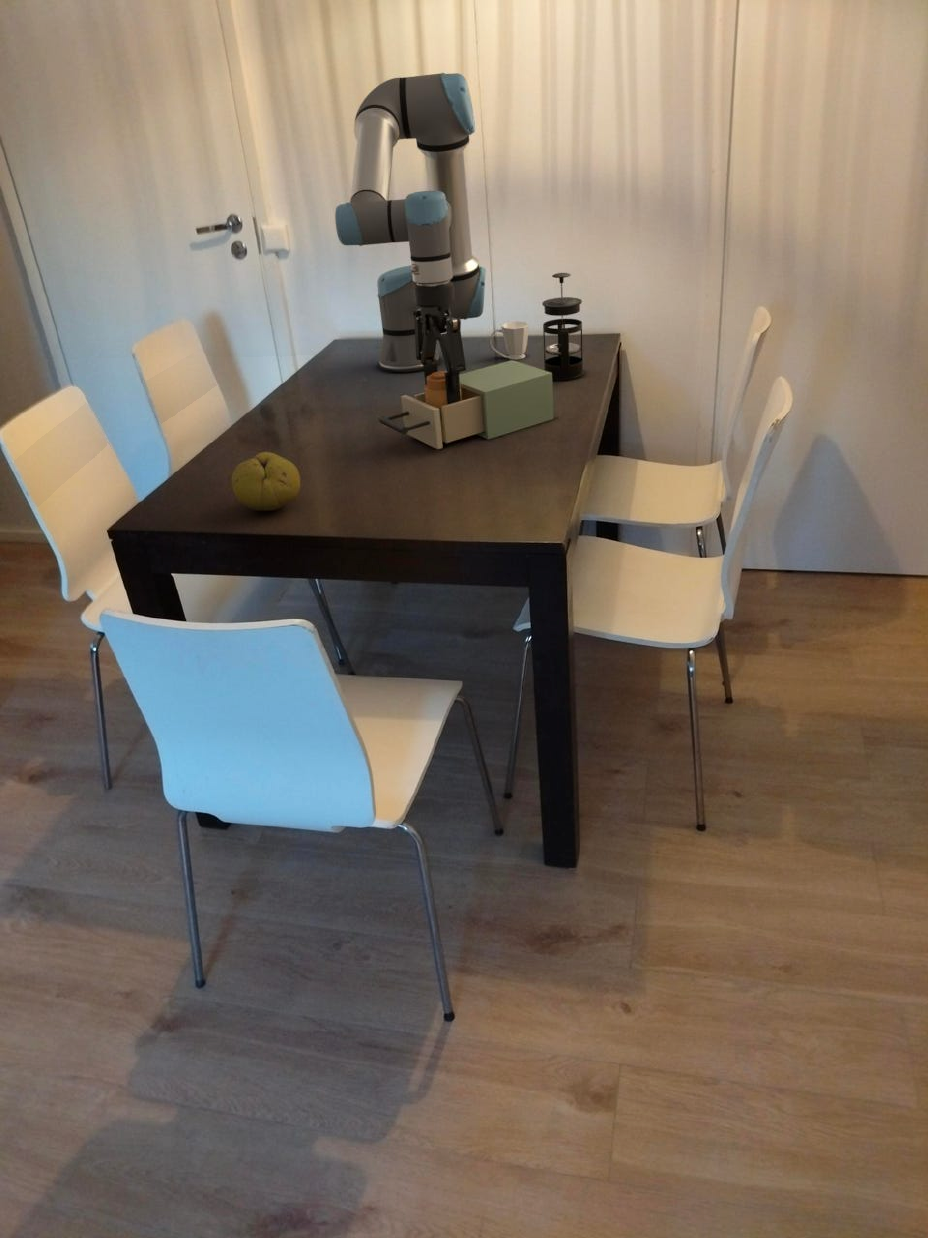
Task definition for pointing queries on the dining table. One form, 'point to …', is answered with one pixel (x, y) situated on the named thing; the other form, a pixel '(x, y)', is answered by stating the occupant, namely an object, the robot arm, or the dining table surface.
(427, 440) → the drawer
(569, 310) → the french press
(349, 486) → the dining table surface
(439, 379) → the stepped orange cylinder
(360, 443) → the dining table surface
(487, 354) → the dining table surface
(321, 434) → the dining table surface
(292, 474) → the fruit
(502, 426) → the cabinet
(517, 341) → the cup
